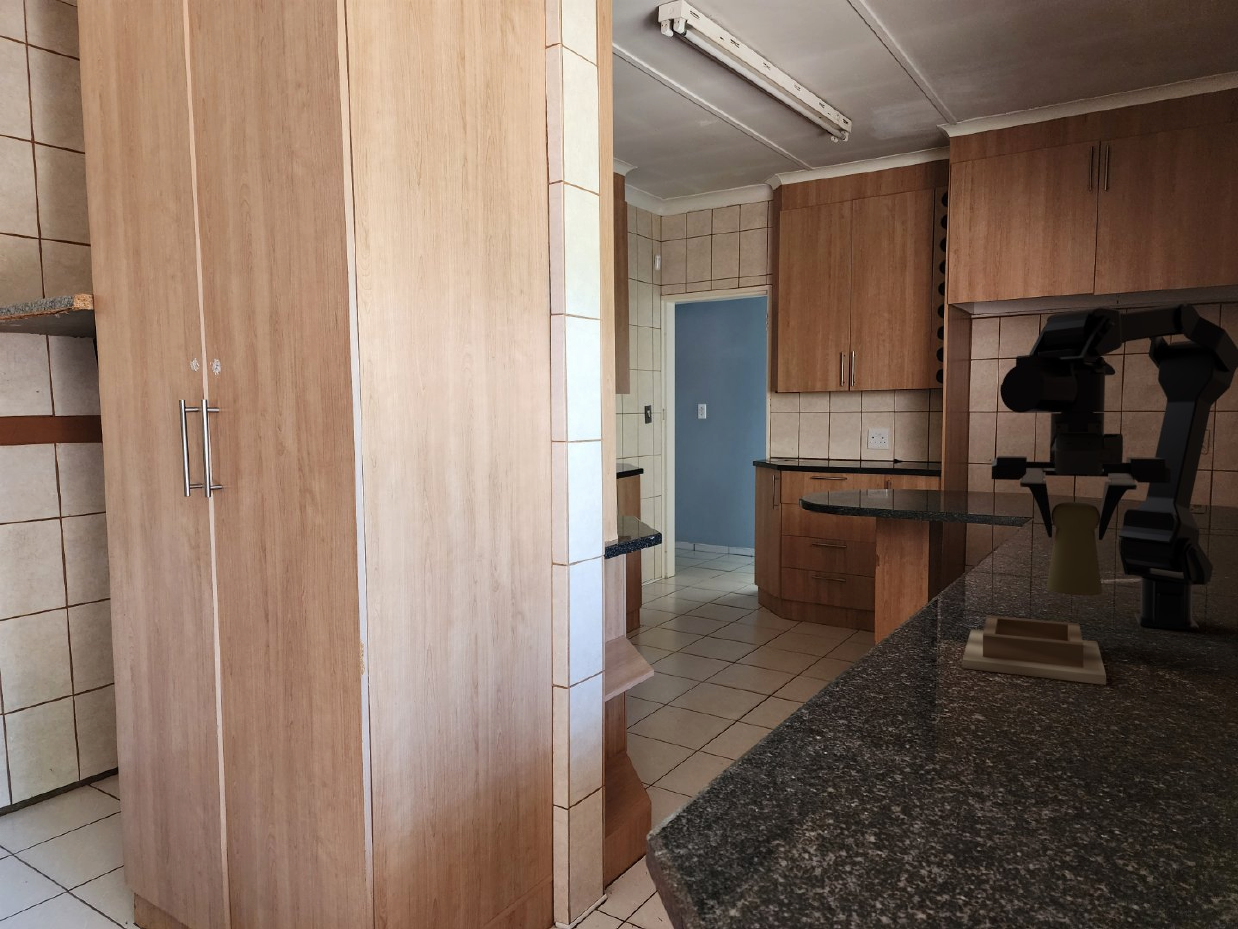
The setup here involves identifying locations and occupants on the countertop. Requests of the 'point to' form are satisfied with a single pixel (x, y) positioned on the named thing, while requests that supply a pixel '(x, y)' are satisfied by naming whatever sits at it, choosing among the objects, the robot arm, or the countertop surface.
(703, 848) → the countertop surface
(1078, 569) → the cork
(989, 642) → the socket board
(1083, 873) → the countertop surface
